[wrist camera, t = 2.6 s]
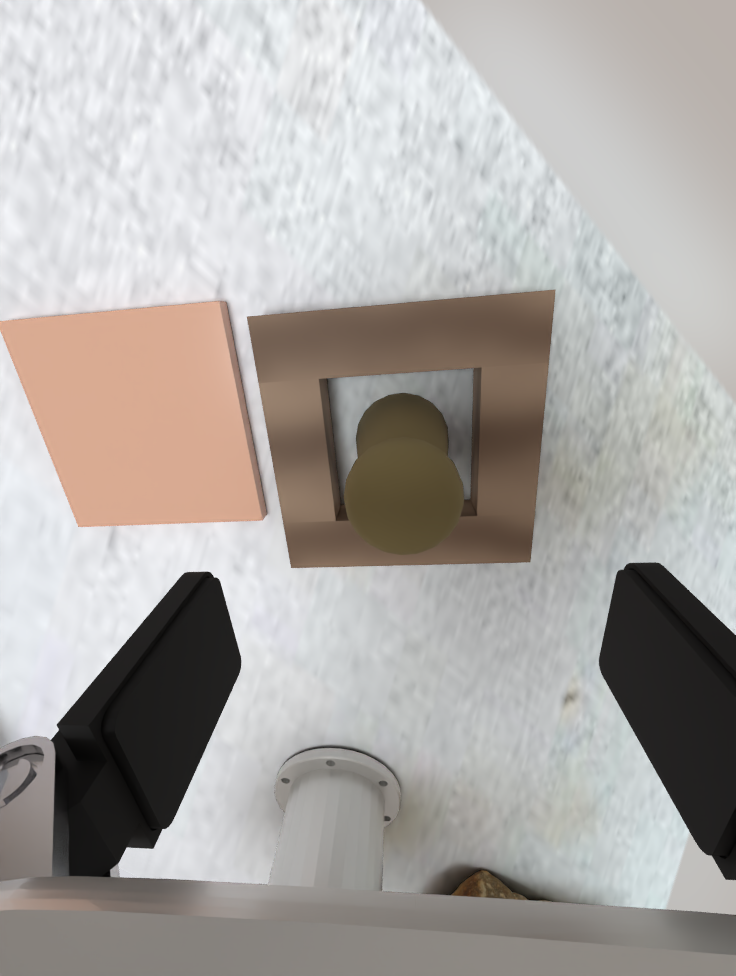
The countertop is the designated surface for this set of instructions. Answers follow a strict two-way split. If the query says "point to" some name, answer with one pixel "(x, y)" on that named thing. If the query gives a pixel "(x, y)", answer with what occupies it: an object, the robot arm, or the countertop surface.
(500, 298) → the frame
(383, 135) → the countertop surface
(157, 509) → the terracotta tile
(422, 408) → the olive tall flared piece
